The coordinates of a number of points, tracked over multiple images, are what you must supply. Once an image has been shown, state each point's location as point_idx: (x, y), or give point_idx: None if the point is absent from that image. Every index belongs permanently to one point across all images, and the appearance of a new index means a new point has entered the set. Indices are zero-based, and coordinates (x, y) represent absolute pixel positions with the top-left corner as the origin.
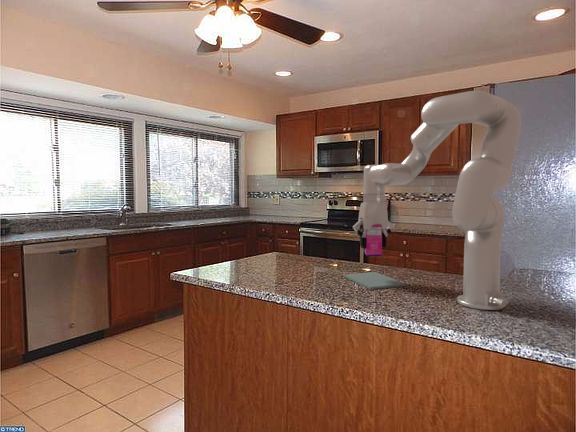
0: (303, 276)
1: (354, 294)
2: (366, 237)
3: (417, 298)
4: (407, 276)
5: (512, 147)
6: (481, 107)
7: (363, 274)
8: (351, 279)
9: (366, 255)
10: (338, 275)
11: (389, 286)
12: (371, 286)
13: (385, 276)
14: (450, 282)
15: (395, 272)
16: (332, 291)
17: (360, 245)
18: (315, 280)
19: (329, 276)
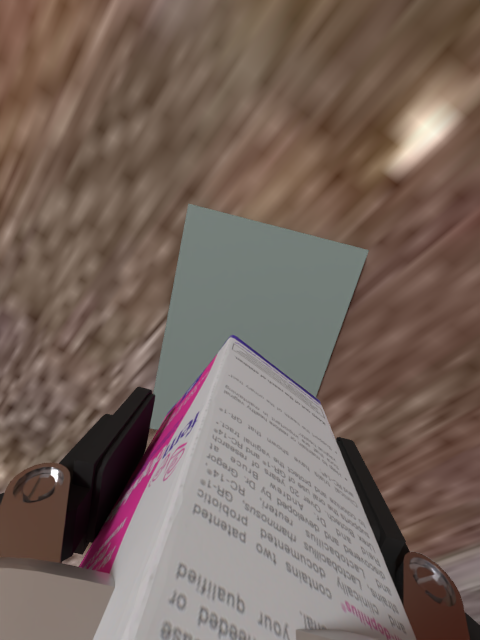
0: (13, 71)
1: (68, 431)
2: (88, 553)
3: None
4: (435, 370)
5: None
6: None
7: (273, 260)
8: (175, 285)
9: (166, 415)
10: (186, 165)
11: None
12: (156, 423)
13: (325, 347)
14: (464, 511)
15: (473, 283)
16: (20, 368)
17: (107, 419)
18: (33, 189)
19: (134, 157)
